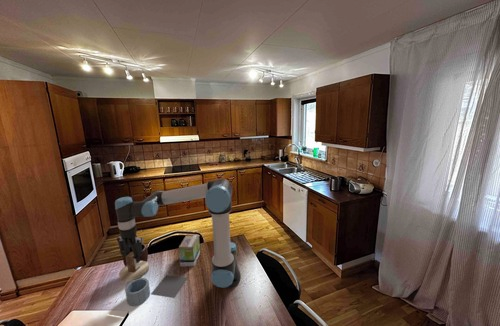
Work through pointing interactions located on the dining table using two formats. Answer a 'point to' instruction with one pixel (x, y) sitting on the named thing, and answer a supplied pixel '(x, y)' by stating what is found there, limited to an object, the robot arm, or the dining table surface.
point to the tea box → (189, 250)
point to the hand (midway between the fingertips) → (133, 266)
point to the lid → (133, 269)
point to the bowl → (137, 291)
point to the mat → (169, 286)
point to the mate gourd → (142, 258)
